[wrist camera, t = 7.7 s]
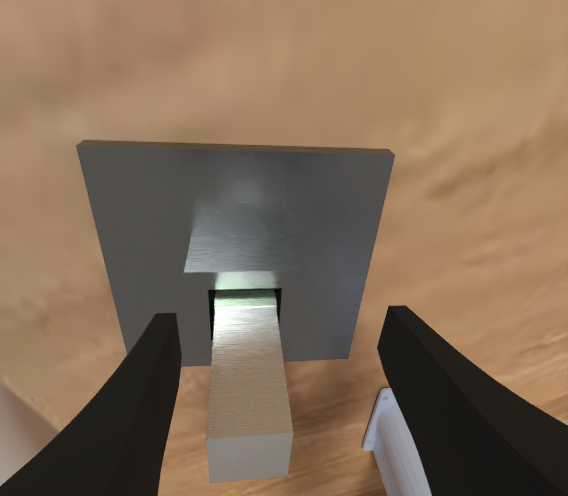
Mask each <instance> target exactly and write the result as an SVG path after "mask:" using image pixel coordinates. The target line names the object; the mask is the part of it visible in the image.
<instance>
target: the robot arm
mask: <svg viewBox="0 0 568 496" xmlns="http://www.w3.org/2000/svg"><path fill="white" fill-rule="evenodd" d="M377 349H378V352H379V356H380V360H381V363H382V366H383V370H384V373H385V376H386V378H387V381H388V383H389V385H390V388H384V389H382V390H381V391H380V392H379V395H378V398H377V401H376V405H375V408H374V411H373V414H372V417H371V420H370V423H369V426H368V429H367V432H366V435H365V438H364V442H363V445H362V447H363V449H364V450H365V451H370V450H373V452H374V455H375V459H376V462H377V465H378V468H379V471H380V474H381V478H382V481H383V484H384V487H385V490H386V493H387V496H568V425H566V424H564V423H562V422H561V421H559V420H557V419H555V418H554V417H552V416H550V415H549V414H547V413H545V412H544V411H542V410H540V409H539V408H537V407H535V406H534V405H532V404H530V403H529V402H527V401H526V400H524V399H523V398H521V397H519V396H518V395H516V394H515V393H513V392H512V391H511V390H509V389H508V388H506V387H505V386H503V385H502V384H500V383H499V382H497V381H496V380H495V379H493V378H492V377H490V376H489V375H488V374H486V373H485V372H484V371H482V370H481V369H480V368H479V367H477V366H476V365H475V364H473V363H472V362H471V361H470V360H468V359H467V358H466V357H465V356H463V355H462V354H461V353H460V352H458V351H457V350H456V349H455V348H454V347H452V346H451V345H450V344H449V343H448V342H447V341H445V340H444V339H443V338H442V337H441V336H440V335H439V334H437V333H436V332H435V331H434V330H433V329H432V328H431V327H429V326H428V325H427V324H426V323H425V322H424V321H423V320H422V319H420V318H419V317H418V316H417V315H416V314H415V313H414V312H413V311H411V310H410V309H409V308H408V307H407V306H389V307H388V310H387V314H386V318H385V321H384V325H383V328H382V332H381V335H380V339H379V342H378V346H377ZM181 360H182V353H181V346H180V339H179V331H178V324H177V316H176V313H156V314H155V315H154V316H153V318H152V319H151V321H150V323H149V324H148V326H147V327H146V329H145V330H144V332H143V333H142V335H141V336H140V338H139V339H138V341H137V342H136V344H135V345H134V347H133V348H132V349H131V351H130V352H129V353H128V355H127V356H126V357H125V359H124V360H123V361H122V363H121V364H120V366H119V367H118V368H117V369H116V371H115V372H114V373H113V374H112V376H111V377H110V378H109V379H108V380H107V382H106V383H105V384H104V385H103V387H102V388H101V389H100V390H99V391H98V393H97V394H96V395H95V396H94V397H93V398H92V399H91V401H90V402H89V403H88V404H87V405H86V406H85V407H84V408H83V409H82V410H81V411H80V413H79V414H78V415H77V416H76V417H75V418H74V419H73V420H72V421H71V422H70V423H69V424H68V425H67V426H66V427H65V428H64V429H63V430H62V431H61V432H60V433H59V434H58V435H57V436H56V437H55V438H54V439H53V440H52V441H51V442H50V443H49V444H48V445H47V446H45V447H44V448H43V449H42V450H41V451H40V452H39V453H38V454H37V455H36V456H35V457H34V458H32V459H31V460H30V461H29V462H28V463H27V464H25V465H24V466H23V467H22V468H21V469H20V470H19V471H17V472H16V473H15V474H14V475H13V476H12V477H10V478H9V479H8V480H7V481H6V482H5V483H3V484H2V485H1V486H0V496H157V495H158V487H159V480H160V472H161V466H162V461H163V456H164V451H165V447H166V442H167V438H168V433H169V429H170V424H171V420H172V415H173V411H174V406H175V401H176V397H177V392H178V387H179V379H180V370H181Z"/></svg>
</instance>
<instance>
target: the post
mask: <svg viewBox="0 0 568 496" xmlns="http://www.w3.org/2000/svg"><path fill="white" fill-rule="evenodd" d="M276 310H277V303H276V296H275V293H274V290H273V289H241V290H217V291H216V294H215V304H214V312H215V320H214V334H213V348H212V362H211V377H210V391H209V405H208V419H207V434H206V444H207V454H208V465H209V476H210V483H218V482H229V481H240V480H251V479H262V478H273V477H284V476H288V469H289V462H290V455H291V447H292V440H293V426H292V419H291V412H290V404H289V397H288V390H287V383H286V376H285V369H284V361H283V354H282V347H281V340H280V333H279V326H278V318H277V311H276Z"/></svg>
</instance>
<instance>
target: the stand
mask: <svg viewBox="0 0 568 496" xmlns="http://www.w3.org/2000/svg"><path fill="white" fill-rule="evenodd" d="M76 147H77V151H78V155H79V160H80V164H81V168H82V172H83V176H84V180H85V184H86V188H87V192H88V196H89V200H90V204H91V209H92V213H93V217H94V221H95V225H96V229H97V233H98V237H99V241H100V245H101V249H102V253H103V258H104V262H105V266H106V270H107V274H108V278H109V282H110V286H111V290H112V294H113V298H114V302H115V306H116V311H117V315H118V319H119V323H120V327H121V331H122V335H123V339H124V343H125V347H126V351H127V355H128V353H129V352H130V351H131V349H132V348H133V347H134V345H135V344H136V342H137V341H138V339H139V338H140V336H141V335H142V333H143V332H144V330H145V329H146V327H147V326H148V324H149V323H150V321H151V319H152V318H153V316H154V315H155V314H156V313H176V316H177V324H178V331H179V339H180V346H181V353H182V360H181V367H184V366H205V365H211V362H212V348H213V334H214V320H215V312H214V304H215V294H216V291H217V290H241V289H273V290H274V293H275V296H276V303H277V310H276V311H277V318H278V326H279V333H280V340H281V347H282V354H283V361H284V362H288V361H308V360H329V359H348V356H349V351H350V347H351V343H352V338H353V334H354V330H355V325H356V321H357V317H358V312H359V308H360V304H361V300H362V295H363V291H364V287H365V282H366V278H367V274H368V269H369V265H370V261H371V256H372V252H373V248H374V244H375V239H376V235H377V231H378V226H379V222H380V218H381V213H382V209H383V205H384V200H385V196H386V192H387V187H388V183H389V179H390V175H391V170H392V166H393V162H394V157H395V155H394V154H393V153H392V152H391V151H390V150H389V149H363V148H330V147H297V146H264V145H230V144H197V143H164V142H131V141H98V140H83V141H82V142H81V143H79V144H78V145H77V146H76Z"/></svg>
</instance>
